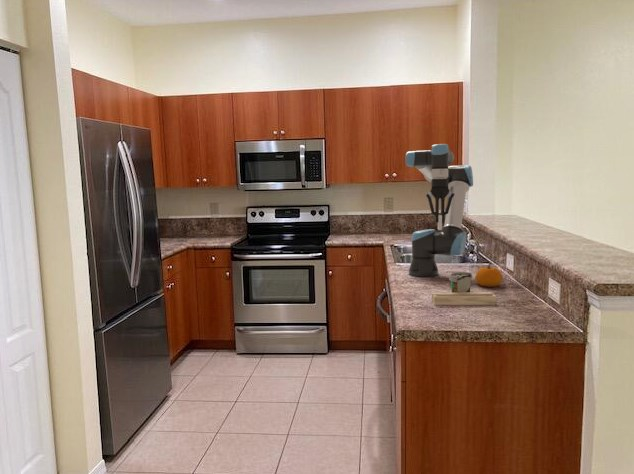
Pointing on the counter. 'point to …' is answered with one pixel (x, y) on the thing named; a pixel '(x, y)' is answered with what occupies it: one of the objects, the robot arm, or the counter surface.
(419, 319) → the counter surface
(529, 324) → the counter surface
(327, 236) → the counter surface
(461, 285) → the food container
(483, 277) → the fruit
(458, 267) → the counter surface
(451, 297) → the board
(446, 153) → the robot arm
